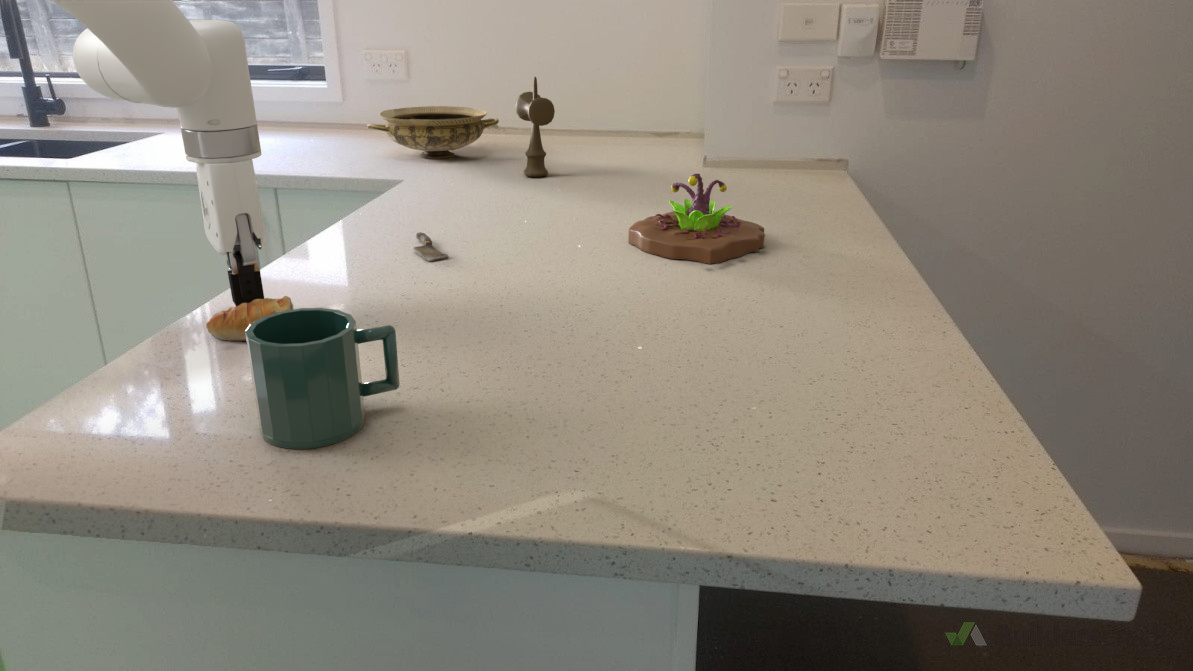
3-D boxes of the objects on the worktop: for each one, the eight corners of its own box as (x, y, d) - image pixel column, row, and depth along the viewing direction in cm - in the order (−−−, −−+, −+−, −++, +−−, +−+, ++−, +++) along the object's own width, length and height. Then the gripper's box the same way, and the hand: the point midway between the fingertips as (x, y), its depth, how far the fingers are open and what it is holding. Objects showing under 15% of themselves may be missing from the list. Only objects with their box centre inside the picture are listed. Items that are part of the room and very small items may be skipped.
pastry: (207, 348, 90) (201, 315, 89) (210, 326, 96) (204, 295, 94) (299, 338, 93) (295, 306, 92) (296, 317, 99) (292, 287, 97)
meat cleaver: (413, 263, 119) (449, 263, 120) (413, 256, 119) (449, 255, 120) (411, 238, 129) (444, 238, 131) (411, 231, 129) (444, 230, 130)
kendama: (542, 170, 181) (542, 74, 173) (556, 179, 172) (556, 78, 165) (515, 172, 179) (514, 74, 171) (528, 181, 170) (527, 79, 163)
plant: (606, 245, 129) (608, 172, 125) (672, 220, 144) (675, 154, 139) (722, 270, 118) (728, 192, 114) (780, 241, 133) (788, 170, 129)
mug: (271, 458, 69) (255, 353, 66) (253, 414, 77) (238, 317, 73) (416, 425, 75) (409, 327, 72) (387, 387, 82) (379, 296, 79)
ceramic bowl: (488, 144, 209) (486, 103, 205) (512, 162, 189) (511, 116, 185) (364, 149, 200) (360, 106, 196) (375, 169, 179) (371, 121, 175)
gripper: (173, 135, 94) (202, 289, 101) (196, 159, 82) (227, 331, 89) (244, 129, 97) (267, 278, 105) (275, 151, 86) (299, 317, 93)
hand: (249, 302), depth 97 cm, fingers closed
